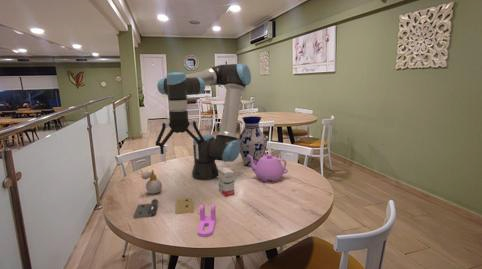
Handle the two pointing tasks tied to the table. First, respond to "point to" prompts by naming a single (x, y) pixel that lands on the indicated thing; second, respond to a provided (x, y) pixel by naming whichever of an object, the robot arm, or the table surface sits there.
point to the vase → (252, 140)
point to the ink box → (226, 181)
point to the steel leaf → (146, 209)
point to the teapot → (268, 168)
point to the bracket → (206, 221)
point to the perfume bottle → (152, 182)
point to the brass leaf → (184, 206)
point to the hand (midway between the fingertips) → (181, 159)
